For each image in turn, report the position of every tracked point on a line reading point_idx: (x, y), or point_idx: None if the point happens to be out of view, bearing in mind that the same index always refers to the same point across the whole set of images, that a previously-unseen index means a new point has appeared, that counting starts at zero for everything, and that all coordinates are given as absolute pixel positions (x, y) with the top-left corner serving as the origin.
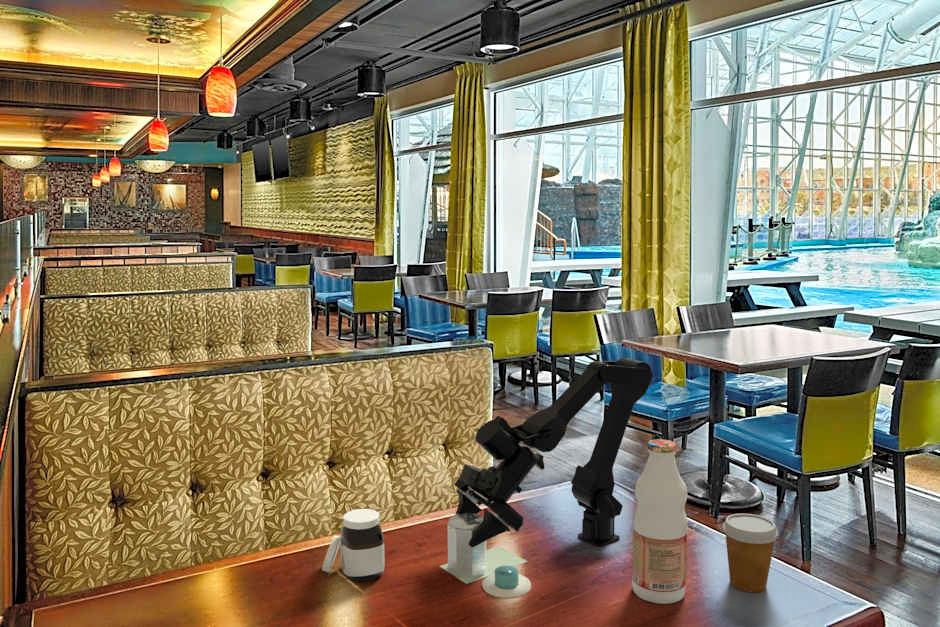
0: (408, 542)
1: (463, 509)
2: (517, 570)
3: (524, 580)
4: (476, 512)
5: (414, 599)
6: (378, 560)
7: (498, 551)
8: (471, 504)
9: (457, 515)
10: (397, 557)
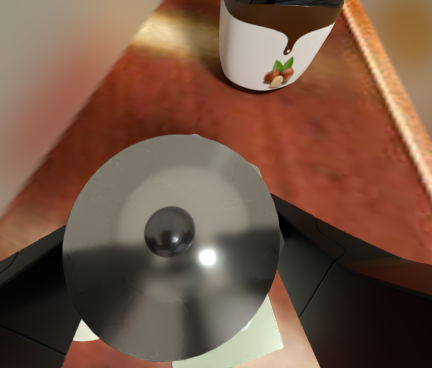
0: (349, 162)
1: (313, 262)
2: None
3: (85, 327)
4: (316, 349)
5: (145, 110)
6: (221, 44)
7: (254, 331)
8: (360, 357)
9: (257, 202)
10: (294, 128)
